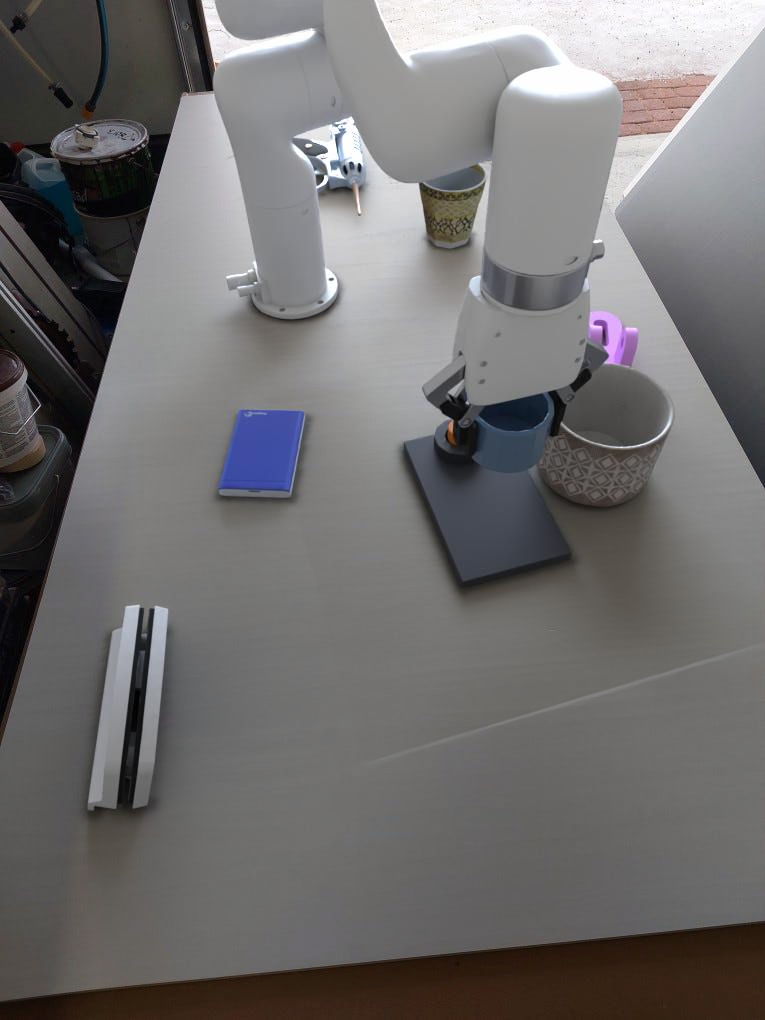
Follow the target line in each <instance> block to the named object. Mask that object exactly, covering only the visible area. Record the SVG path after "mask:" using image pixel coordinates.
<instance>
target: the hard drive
mask: <svg viewBox="0 0 765 1020" xmlns="http://www.w3.org/2000/svg"><path fill="white" fill-rule="evenodd" d="M305 421H306V414H305V411H303V410H293V409H289V410H288V409H255V408H254V409H251V408H250V409H249V408H243V409H242V408H241V409H238V412H237V415H236V419H235V423H234V427H233V429H232V434H231V438H230V442H229V446H228V449H227V454H226V457H225V460H224V464H223V468H222V472H221V475H220V480H219V483H218V488H217V490H218V493H219V495H220V496H224V497H247V498H248V497H250V498H251V497H252V498H253V497H254V498H279V499H281V498H282V499H288V498H291V496H292V492H293V486H294V481H295V477H296V471H297V465H298V459H299V454H300V450H301V449H300V448H301V443H302V438H303V432H304V426H305Z"/></svg>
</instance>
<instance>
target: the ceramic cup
mask: <svg viewBox="0 0 765 1020" xmlns="http://www.w3.org/2000/svg"><path fill="white" fill-rule="evenodd" d="M487 178H488V173H487V170H486V169H485V167H483V165H482V164H481V163H479V164H476V165H474V166H471V167H468V168H465V169H462V170H459V171H456V172H453V173H451V174H448V175H445V176H442V177H439V178H436V179H432V180H429V181H425V182H422V183H418V187H419V188H418V189H419V194H420V201H421V205H422V211H423V218H424V223H425V231H426V236H427V238H428V240H430V242H431V243H432V244H433V245H434V246H435V247H438V248H443V249H444V248H445V249H451V250H452V249H455V248H458V247H461V246H465V245H466V244H467V243H468V241H469V239H470V237H471V234H472V231H473V228H474V224H475V220H476V216H477V212H478V208H479V205H480V203H481V199H482V197H483V194H484V190H485V186H486V182H487Z"/></svg>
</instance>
